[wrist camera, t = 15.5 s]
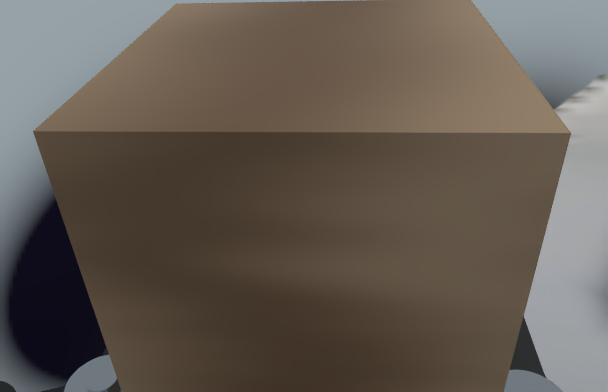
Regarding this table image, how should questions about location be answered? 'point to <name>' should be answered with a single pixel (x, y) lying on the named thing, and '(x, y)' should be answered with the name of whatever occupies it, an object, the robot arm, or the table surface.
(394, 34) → the walnut block
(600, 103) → the table surface
